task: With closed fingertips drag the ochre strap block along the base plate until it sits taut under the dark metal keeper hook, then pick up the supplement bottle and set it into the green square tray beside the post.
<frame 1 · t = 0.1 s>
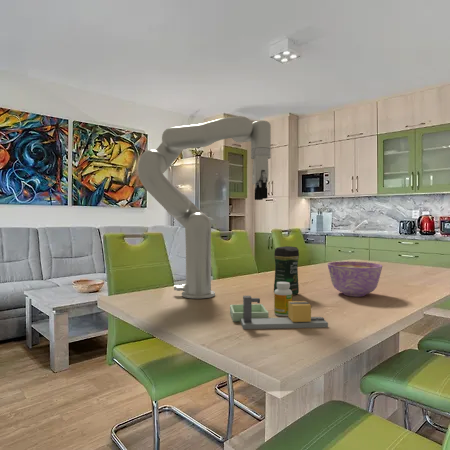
hand: (260, 199, 140), 37 cm above the table, tool pointing down, fingers open, 9 cm apart
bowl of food: (354, 294, 141), on the table
strap block: (299, 310, 101), point 4 cm above the table, slide at 0.0 cm
supplement bottle: (283, 315, 112), on the table
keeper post: (247, 325, 100), resting on base plate
coffee jar: (286, 294, 141), on the table
green square tray: (248, 316, 109), on the table
base plate: (283, 324, 100), on the table
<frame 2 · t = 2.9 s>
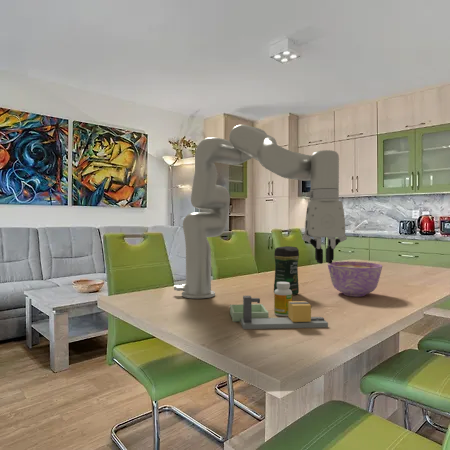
hand: (324, 262, 101), 17 cm above the table, tool pointing down, fingers closed
nothing on the table moved.
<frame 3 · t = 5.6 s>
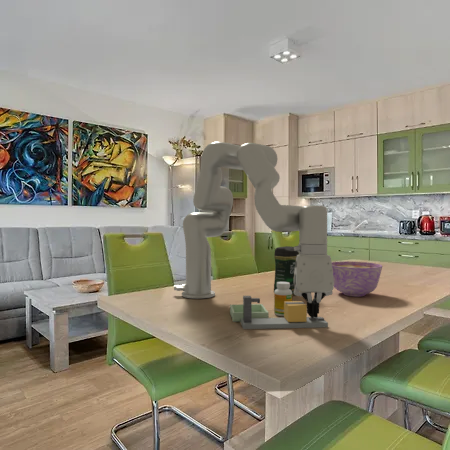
hand: (312, 316, 101), 2 cm above the table, tool pointing down, fingers closed
strap block: (295, 311, 101), point 4 cm above the table, slide at 1.2 cm, touching gripper
everything else where it was.
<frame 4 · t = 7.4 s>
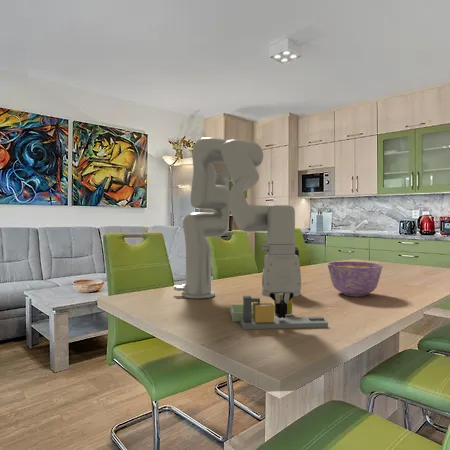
hand: (281, 316, 100), 2 cm above the table, tool pointing down, fingers closed
strap block: (263, 311, 100), point 4 cm above the table, slide at 10.1 cm, touching gripper
everything else where it was.
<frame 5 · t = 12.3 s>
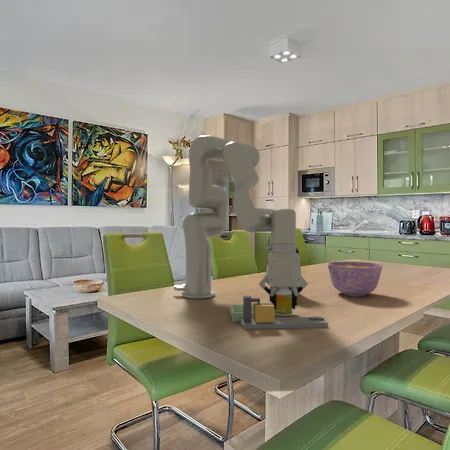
hand: (283, 307, 112), 2 cm above the table, tool pointing down, fingers closed on supplement bottle, 5 cm apart
strap block: (263, 311, 100), point 4 cm above the table, slide at 10.0 cm
supplement bottle: (283, 314, 112), on the table, touching gripper
everything else where it was.
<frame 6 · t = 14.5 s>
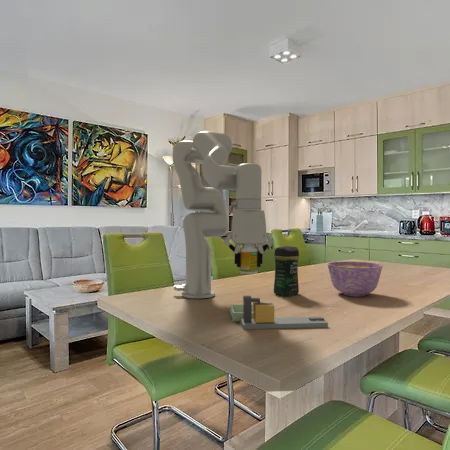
hand: (248, 265, 109), 15 cm above the table, tool pointing down, fingers closed on supplement bottle, 5 cm apart
supplement bottle: (248, 273, 109), point 13 cm above the table, touching gripper
everything else where it was.
when the fingers open (4 cm above the table, at t = 17.0 s): supplement bottle drops 1 cm, resting on green square tray.
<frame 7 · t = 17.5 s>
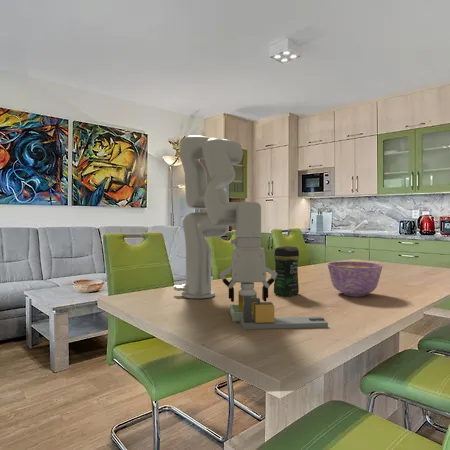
hand: (248, 300, 109), 5 cm above the table, tool pointing down, fingers open, 9 cm apart
supplement bottle: (247, 315, 109), resting on green square tray
everything else where it was.
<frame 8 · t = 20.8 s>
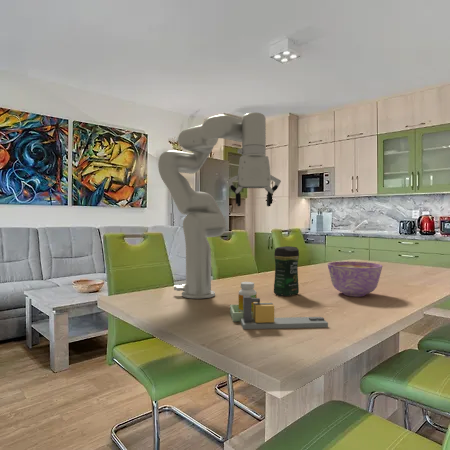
hand: (253, 206, 117), 33 cm above the table, tool pointing down, fingers open, 9 cm apart
nothing on the table moved.
at the end: strap block slide at 10.0 cm; supplement bottle 0.2 cm off-centre on the green square tray, point 0.2 cm above the green square tray's base; supplement bottle tilted 0° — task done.
